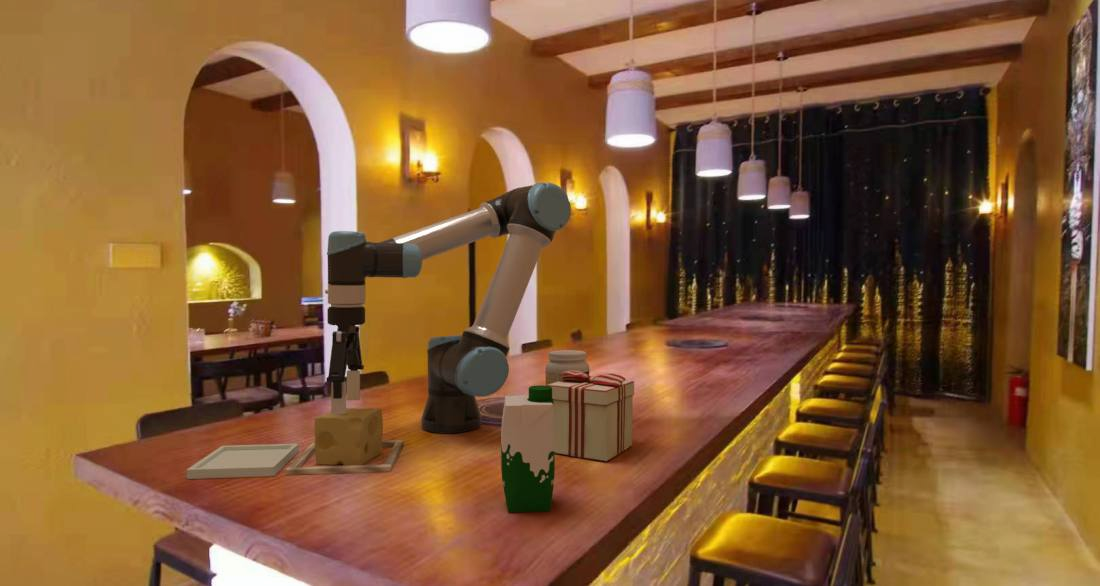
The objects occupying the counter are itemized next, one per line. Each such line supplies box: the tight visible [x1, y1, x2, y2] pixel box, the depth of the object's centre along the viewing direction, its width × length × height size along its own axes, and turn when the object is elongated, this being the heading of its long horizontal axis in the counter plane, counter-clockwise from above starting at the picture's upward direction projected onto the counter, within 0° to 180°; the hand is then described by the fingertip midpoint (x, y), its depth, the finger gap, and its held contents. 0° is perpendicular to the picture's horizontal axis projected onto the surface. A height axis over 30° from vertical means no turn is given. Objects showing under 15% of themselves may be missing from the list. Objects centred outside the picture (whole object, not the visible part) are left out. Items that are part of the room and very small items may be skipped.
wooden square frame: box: [284, 439, 404, 476], centre depth 132 cm, size 20×19×1 cm
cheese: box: [314, 407, 384, 466], centre depth 132 cm, size 10×11×10 cm
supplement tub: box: [545, 349, 590, 386], centre depth 172 cm, size 12×12×17 cm
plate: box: [186, 443, 300, 480], centre depth 128 cm, size 16×16×2 cm
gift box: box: [545, 370, 635, 462], centre depth 140 cm, size 17×18×17 cm
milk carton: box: [500, 384, 556, 513], centre depth 106 cm, size 9×9×20 cm
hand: (346, 406), depth 131 cm, fingers open, 13 cm apart
